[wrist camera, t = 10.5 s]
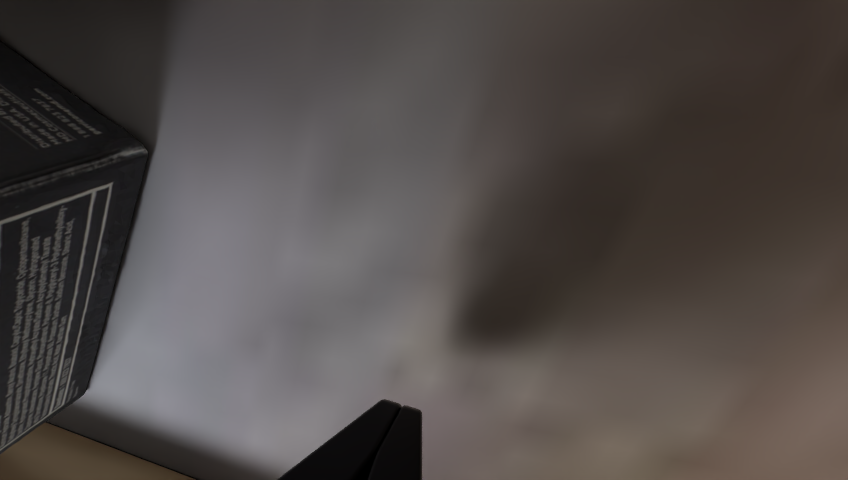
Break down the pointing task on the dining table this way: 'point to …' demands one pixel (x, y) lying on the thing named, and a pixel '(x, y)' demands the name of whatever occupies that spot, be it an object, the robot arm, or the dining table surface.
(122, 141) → the small box
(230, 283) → the dining table surface
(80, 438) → the light tan flat part
